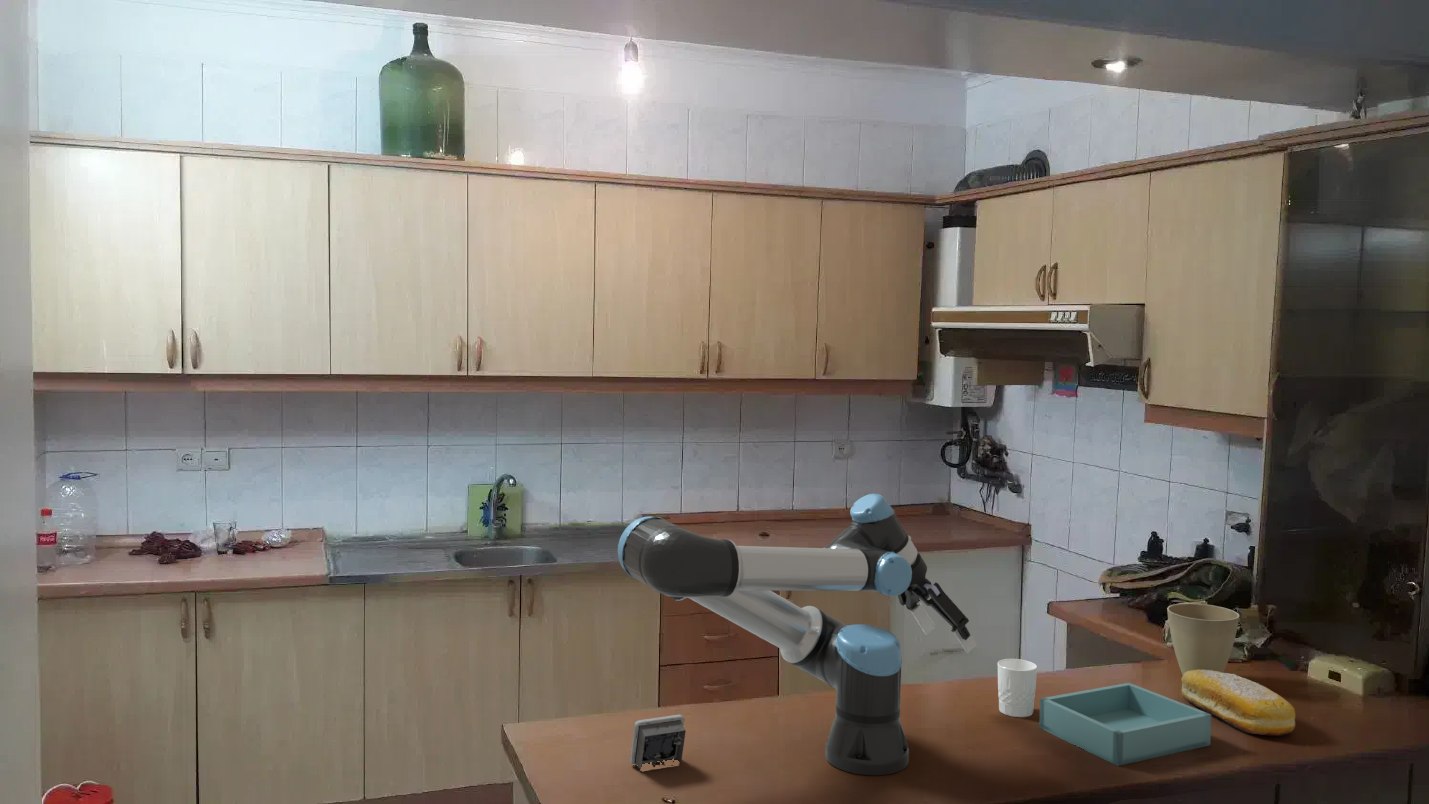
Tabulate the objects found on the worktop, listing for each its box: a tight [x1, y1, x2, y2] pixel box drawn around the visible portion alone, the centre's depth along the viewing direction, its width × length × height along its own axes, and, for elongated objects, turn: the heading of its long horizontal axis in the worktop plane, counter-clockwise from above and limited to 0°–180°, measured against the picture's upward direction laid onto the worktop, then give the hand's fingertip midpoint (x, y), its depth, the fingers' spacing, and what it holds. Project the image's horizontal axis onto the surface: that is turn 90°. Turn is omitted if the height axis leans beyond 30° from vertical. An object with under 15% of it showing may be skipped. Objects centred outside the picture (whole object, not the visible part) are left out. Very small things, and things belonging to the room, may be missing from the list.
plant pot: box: [1166, 602, 1240, 676], centre depth 234 cm, size 15×15×16 cm
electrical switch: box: [629, 714, 686, 769], centre depth 183 cm, size 9×5×9 cm, turn 113°
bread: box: [1180, 670, 1296, 737], centre depth 211 cm, size 13×26×8 cm, turn 12°
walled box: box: [1038, 682, 1212, 767], centre depth 200 cm, size 24×20×6 cm
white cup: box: [997, 658, 1038, 718], centre depth 213 cm, size 8×8×10 cm
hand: (950, 639), depth 211 cm, fingers open, 13 cm apart
